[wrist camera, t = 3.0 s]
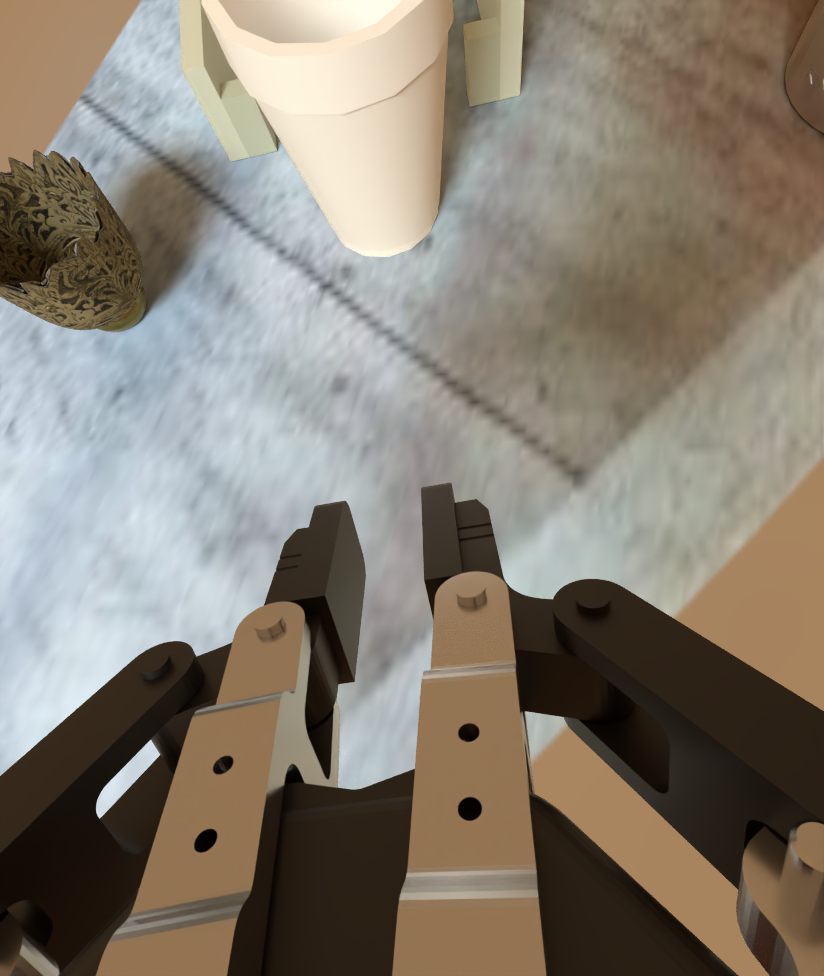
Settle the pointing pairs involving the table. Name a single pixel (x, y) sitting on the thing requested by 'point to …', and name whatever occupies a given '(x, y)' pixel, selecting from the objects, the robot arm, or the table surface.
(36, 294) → the cup
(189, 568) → the table surface
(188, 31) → the walled box
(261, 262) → the table surface
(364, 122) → the foam cup
